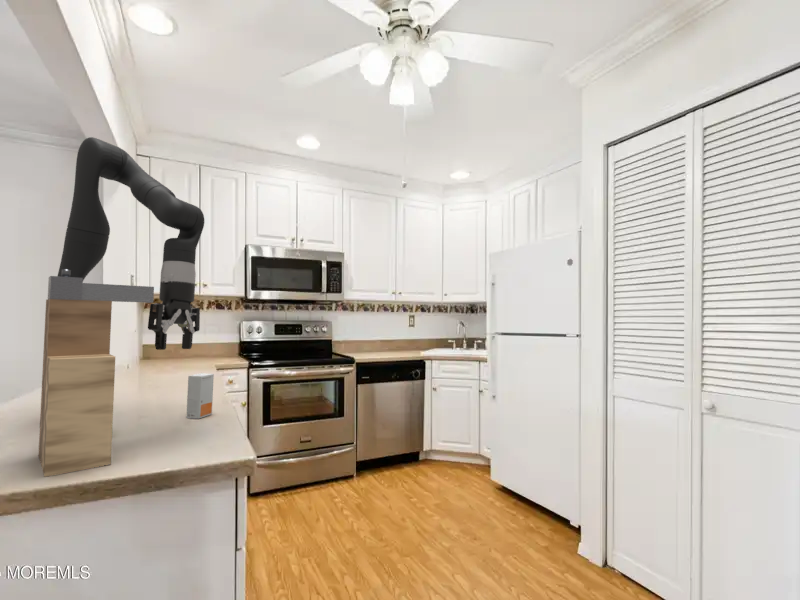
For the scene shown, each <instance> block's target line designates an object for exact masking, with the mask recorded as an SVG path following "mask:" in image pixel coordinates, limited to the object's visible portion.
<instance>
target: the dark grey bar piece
mask: <svg viewBox="0 0 800 600" xmlns="http://www.w3.org/2000/svg"><path fill="white" fill-rule="evenodd" d="M154 291H155V286H148V285H147V286H145V285H143V286H142V285H131V284H130V285H127V284H125V285H124V284H110V283H109V284H106V283H90V282H89V283H87V282H84V280H83V278H77V277H70V270H68V269H62V274H61V277H60V276H58V275H50V276H48V286H47V300H48V299H61V300H93V301H112V302H117V303H118V302H121V303H124V302H125V303H147V304H148V303H151V304H154V297H155V296H154V295H155V294H154V293H155V292H154Z"/></svg>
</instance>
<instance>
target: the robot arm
mask: <svg viewBox="0 0 800 600" xmlns="http://www.w3.org/2000/svg"><path fill="white" fill-rule="evenodd" d="M74 174H75V176H74V189H73V197H72V202H71V208H70V214H69V217H68V220H67V221H68V222H67V224H66V225H67V226H66V230H65V236H64V243H63V249H62V254H61V260H60V263H59V264H60V265H59V267H58V272H57V276H60V277H61V274H62V269H68V270H70V277H77V278H83V281H85V279H86V277H87V276H88V275H89V274H90V272H91V271H92V270H93V269H94V268H95V267H96V266H97V265H98V264H99V263H100V262H101V260H102V259H103V258H104V256H105V255H106V253H107V249H108V243H109V240H110V233H111V228H110V223H109V220H108V217H107V215H106V212H105V210H104V208H103V205H102V202H101V199H100V195H99V187H100V186H99V185H100V178H103V179H106V180H109V181H115V182H117V183H120V184H121V185H122V184H123V185H124V186H126V187H127V188H129V189H130V192H131V194H132V196H133V197H134V198H135V199H136V201H138V203H140V204H141V205H143V206H144V207H145V208H147V209H148V210H149V211H150V212H152V214H153V215H154V217H155V218H156V219H157V220H158V221H159V222H160V223H162V224H163V225H165V226H167V227H169V228H172V229H175V230H179V232H178V234H177V237H170V238H167V239H166V240H165V242H164V245H163V253H162V266H161V271H160V281H159V283H160V284H159V298H158V299H159V300H160V301H162V303H151V304H150V307H149V315H148V320H147V321H148V322H147V329H148V330H150V331H153V332H154V333H155V335H154V336H155V338H154V339H155V341H154V348H155V349H156V350H157V351H158V350H159V351H163V350H166V349H167V339H168V333H167V332H168V330H169V328H170V327H171V326H173V325H177V326H178V327H179V328H180V329H181V331H182V340H181V349H182V350H191V349H192V347H193V339H194V338H193V337H194V334H195V333H196V332H199V331H200V320H201V318H200V316H201V314H200V313H201V312H200V311H201V309H200V308H199V307H191V303H193V302H194V301H195V292H196V277H197V274H196V273H197V272H196V255H197V254H196V253H197V252H196V251H197V247H198V244H199V241H200V239H201V235H202V233H203V230H204V227H205V216H204V213H203V211H202V209H201V208H200V207H199V206H197V205H194V204H191V203H189V202H187V201H184V200H181V199H180V198H177V197H176V195H175V193H174V192H173V191H172V190H170V188H168V187H166V186H165V185H164V184H162V183H161V182H160V181H158V180H157V179H155V178H154V177H153V176H151V175H149V174H148V173H147V172H146V171H145V170H144V169H143V168H142V167H141V166H140V165H139V164H138V163H137V162H136V161H135V159H133V157H132V156H131V155H130V154H129V152H127V151H126V150H124V149H123V148H121V147H119V146H116V145H114V144H112V143H109V142H107V141H104V140H102V139H99V138H97V137H94V136H93V137H92V136H91V137H89V136H88V137H87V138H85V139H84V140H83V141H81V144H80V146H79V147H78V151H77V157H76V163H75V173H74Z"/></svg>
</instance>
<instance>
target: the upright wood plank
mask: <svg viewBox="0 0 800 600" xmlns="http://www.w3.org/2000/svg"><path fill="white" fill-rule="evenodd" d="M112 305H113V301H93V300H61V299H48V298H47V299H45V312H44V315H45V316H44V317H45V318H44V335H43V357H42V376H41V378H42V379H41V396H40V398H41V399H40V414H39V415H40V419H39V434H38V435H39V437H38V439H39V440H38V453H37V454H38V455H37V456H38V459H40V460H39V462H40V466H41V469H42V473H43V477H45V478H46V477H51V476H58V475H61V474H68V473H73V472H79V471H83V470H89V469H95V468H99V466H100V467H105V466H104V465H106V466H109V465H108V464H111V465H112V446H113V445H112V443H113V423H114V422H113V420H114V396H115V375H116V356H115V355H112V354H110V352H111V331H112V330H111V329H112V308H113V306H112ZM94 467H95V468H94Z"/></svg>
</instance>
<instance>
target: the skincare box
mask: <svg viewBox="0 0 800 600" xmlns="http://www.w3.org/2000/svg"><path fill="white" fill-rule="evenodd" d="M214 379H215V374H214V373H204V372H203V373H202V372H201V373H194V374H192V375H188V380H187V397H186V400H187V401H186V414H185V417H186V418H187V419H195V420H196V419H198V420H199V419H202V418H205V417H208V416H211V415H213V400H214V399H213V398H214V397H213V396H214V394H213V393H214Z"/></svg>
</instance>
